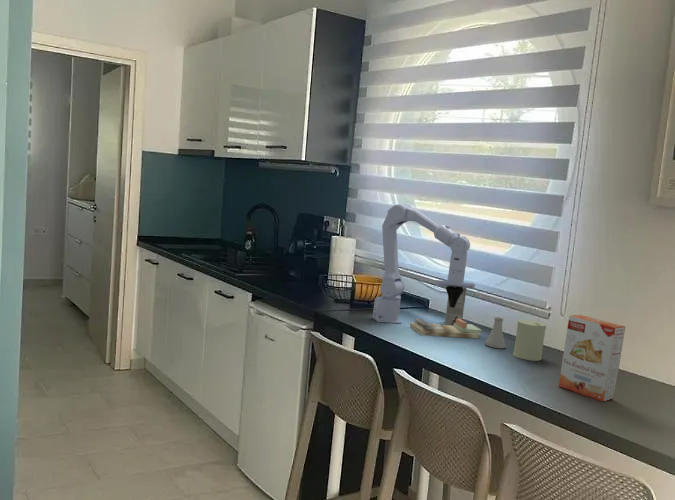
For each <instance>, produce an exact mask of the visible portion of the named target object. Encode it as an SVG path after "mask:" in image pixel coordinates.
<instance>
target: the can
mask: <svg viewBox="0 0 675 500" xmlns="http://www.w3.org/2000/svg"><path fill="white" fill-rule="evenodd" d="M546 328H547V324H546V323H544V322H541V321H536V320H532V319H518V320H517V327H516V335H515V342H514V348H513V353H512V355H513V356H514V357H515V358H519V359H521V360H525V361H534V362H536V361H537V362H538V361H542V355H543V348H544V341H545V336H546V335H545V334H546Z"/></svg>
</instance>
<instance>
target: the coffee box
mask: <svg viewBox="0 0 675 500" xmlns="http://www.w3.org/2000/svg"><path fill="white" fill-rule="evenodd" d="M451 286H456V285H451ZM462 289H463V293H462V294H461V295H460V297H459V299H458V300H457V303H456V305H455V308H452V307H450V306H449V298H448V297H447V302H446V303H447V305H446V311H445V312H446V313H445V319H444V325H451V326H454V323H456V319H461V320H463V317H464V309H465V302H466V294H467V288H462Z"/></svg>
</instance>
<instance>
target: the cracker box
mask: <svg viewBox="0 0 675 500" xmlns="http://www.w3.org/2000/svg"><path fill="white" fill-rule="evenodd" d="M568 317H569V318H568V321H567V329H566V335H565V342H564V348H563V355H562V362H561V368H560V376H559V382H558V387H560V388H562V389H565V390H568V391H571V392H574V393H576V394H579V395H582V396H585V397H587V396H588V398H590V397H591V399H593V398H594V399H593V400H596V399H597V400H596V401H599V400H600V401H599V402H601V401H605V402H608V401H607V400H609V401H611V400H610V399H613V400H614V399H615V395H616V394H615V393H616V387H617V380H618V375H619V371H620V370H619V369H620V362H621V356H622V351H623V342H624V338H625V332H626V325H625V326H624V325H622V324H617V323H613V322H609V321H605V320H602V319H597V318H594V317H591V316H587V315H582V314H572V315H571V314H570V315H569V316H568Z"/></svg>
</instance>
